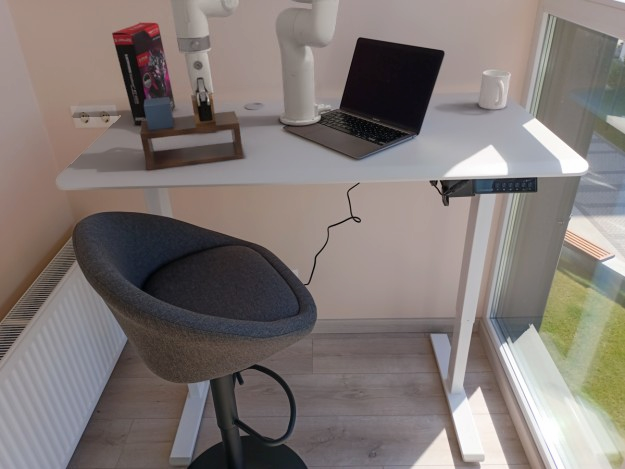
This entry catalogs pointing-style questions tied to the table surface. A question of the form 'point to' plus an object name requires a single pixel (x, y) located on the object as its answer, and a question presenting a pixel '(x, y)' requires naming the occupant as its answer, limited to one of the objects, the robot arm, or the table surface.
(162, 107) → the blue box
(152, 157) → the brown rectangular fixture
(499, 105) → the mug
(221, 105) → the table surface
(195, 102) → the cardboard box
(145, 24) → the graphics card box
